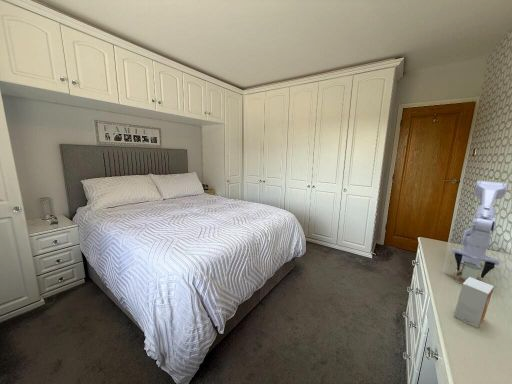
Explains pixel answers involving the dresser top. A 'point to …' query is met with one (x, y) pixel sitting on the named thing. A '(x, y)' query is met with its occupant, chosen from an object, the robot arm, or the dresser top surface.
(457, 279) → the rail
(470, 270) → the finger block
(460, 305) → the small box
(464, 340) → the dresser top surface
